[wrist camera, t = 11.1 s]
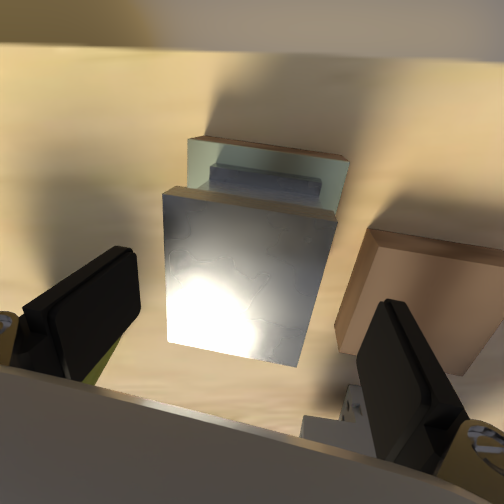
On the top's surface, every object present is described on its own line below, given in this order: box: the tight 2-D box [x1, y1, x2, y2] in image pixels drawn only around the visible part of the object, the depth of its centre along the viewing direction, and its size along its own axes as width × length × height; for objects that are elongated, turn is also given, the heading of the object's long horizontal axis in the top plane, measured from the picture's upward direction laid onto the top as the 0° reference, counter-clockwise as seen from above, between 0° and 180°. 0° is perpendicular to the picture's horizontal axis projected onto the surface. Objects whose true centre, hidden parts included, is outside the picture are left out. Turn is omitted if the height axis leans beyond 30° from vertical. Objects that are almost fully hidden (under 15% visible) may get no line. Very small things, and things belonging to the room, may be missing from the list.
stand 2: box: [334, 228, 504, 376], centre depth 19 cm, size 9×9×3 cm
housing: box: [162, 163, 338, 368], centre depth 14 cm, size 6×7×7 cm
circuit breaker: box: [299, 385, 377, 458], centre depth 21 cm, size 8×14×15 cm, turn 88°
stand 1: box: [187, 136, 350, 215], centre depth 18 cm, size 9×9×3 cm
